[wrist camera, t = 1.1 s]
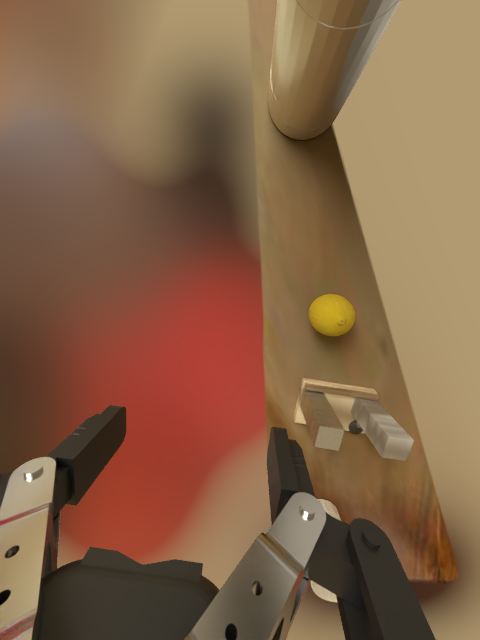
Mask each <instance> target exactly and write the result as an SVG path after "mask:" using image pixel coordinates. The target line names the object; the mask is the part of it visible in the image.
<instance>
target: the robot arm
mask: <svg viewBox="0 0 480 640" xmlns="http://www.w3.org/2000/svg"><path fill="white" fill-rule="evenodd" d="M401 1H402V0H277V10H276V20H275V31H274V42H273V52H272V63H271V72H270V83H269V93H268V107H269V111H270V115H271V118H272V120H273V122H274V124H275V125H276V127H277V128H278V129H279V130H280V131H281V132H282V133H283V134H284V135H286V136H288V137H290V138H293V139H297V140H307V139H311V138H314V137H316V136H318V135H320V134H322V133H323V132H324V131H326V130H327V129H328V128H329V127H330V125H331V124H332V123H333V121H334V120H335V118H336V116H337V115H338V113H339V111H340V110H341V108H342V106H343V104H344V103H345V101H346V99H347V97H348V96H349V94H350V92H351V90H352V88H353V87H354V85H355V83H356V81H357V79H358V78H359V76H360V74H361V72H362V71H363V69H364V67H365V65H366V63H367V61H368V60H369V58H370V56H371V54H372V53H373V51H374V49H375V47H376V45H377V44H378V42H379V40H380V38H381V36H382V34H383V33H384V31H385V29H386V28H387V26H388V24H389V22H390V20H391V19H392V17H393V15H394V13H395V11H396V10H397V8H398V6H399V4H400V2H401ZM125 435H126V408H125V407H120V406H113V405H110V406H109V407H107V408H106V409H105V410H104V411H103V412H102V413H101V414H96V415H94V416H92V417H90V418H88V419H87V420H86V421H85V422H83V423H82V424H81V425H80V426H79V428H77V429H76V430H75V431H74V432H72V434H71V435H69V436H68V437H67V438H66V439H65V440H64V441H63V442H61V443H60V444H59V445H58V446H57V447H56V448H55V449H54V450H53V451H52V452H51V453H49V454H48V455H47V456H46V457H41V458H36V459H33V460H31V461H28V462H26V463H24V464H23V465H21V466H20V467H18V468H17V469H16V470H15V471H14V472H10V473H3V474H0V640H286V638H287V635H288V632H289V629H290V627H291V625H292V622H293V620H294V617H295V615H296V613H297V610H298V608H299V606H300V603H301V601H302V598H303V596H304V593H305V591H306V589H307V586H308V584H309V581H310V580H311V581H313V582H315V583H317V584H318V585H320V586H322V587H323V588H325V589H327V590H329V591H330V592H332V593H334V594H336V597H337V602H338V606H339V611H340V616H341V621H342V625H343V630H344V634H345V639H346V640H435V637H434V635H433V633H432V631H431V629H430V626H429V624H428V622H427V620H426V618H425V616H424V613H423V611H422V609H421V607H420V605H419V603H418V600H417V598H416V596H415V594H414V592H413V589H412V587H411V585H410V583H409V581H408V578H407V576H406V574H405V572H404V570H403V568H402V565H401V563H400V561H399V559H398V557H397V555H396V552H395V550H394V548H393V546H392V544H391V542H390V540H389V538H388V537H387V535H386V534H385V533H384V532H383V531H382V530H381V529H380V528H379V527H378V526H377V525H375V524H374V523H372V522H370V521H368V520H366V519H361V518H358V519H354V520H353V521H352V522H351V524H350V525H349V524H347V523H345V522H342V521H340V520H338V519H336V518H334V517H332V516H331V515H329V514H328V513H327V512H325V510H324V507H323V506H322V504H321V503H320V502H319V501H318V500H317V499H316V498H315V495H314V491H313V487H312V484H311V480H310V477H309V473H308V470H307V467H306V462H305V459H304V455H303V452H302V448H301V447H300V446H299V444H298V443H297V442H296V440H288V435H287V431H286V429H285V428H277V427H272V428H271V433H270V439H269V445H268V452H267V470H268V483H269V495H270V508H271V521H272V526H271V528H270V529H269V531H268V532H267V533H266V534H264V533H261V534H260V535H259V536H258V537H257V539H256V540H255V541H254V543H253V544H252V546H251V547H250V548H249V550H248V551H247V553H246V554H245V555H244V557H243V558H242V560H241V561H240V562H239V564H238V565H237V567H236V568H235V570H234V571H233V572H232V574H231V575H230V577H229V578H228V580H227V581H226V582H225V584H224V585H223V587H222V588H221V589H220V590H219V589H218V588H217V587H216V586H215V585H214V584H213V583H212V582H211V581H209V580H208V579H207V578H205V577H203V576H202V567H203V564H202V563H195V562H188V561H182V560H169V561H163V562H157V563H152V564H147V565H142V564H139V563H138V562H136V561H134V560H132V559H130V558H129V557H127V556H125V555H124V554H122V553H120V552H118V551H114V550H107V549H99V548H93V547H90V548H89V550H88V552H87V553H86V555H85V557H84V558H83V559H81V560H77V561H74V562H71V563H69V564H66V565H64V566H62V567H60V568H58V569H57V557H58V541H59V526H60V510H61V509H62V508H63V507H64V505H65V504H70V505H77V504H78V502H79V501H80V500H81V498H82V497H83V496H84V494H85V493H86V492H87V490H88V489H89V487H90V486H91V485H92V483H93V482H94V481H95V479H96V478H97V477H98V475H99V474H100V472H101V471H102V470H103V469H104V467H105V466H106V465H107V463H108V462H109V460H110V459H111V458H112V456H113V455H114V454H115V452H116V451H117V450H118V448H119V447H120V446H121V444H122V443H123V441H124V438H125Z"/></svg>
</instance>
